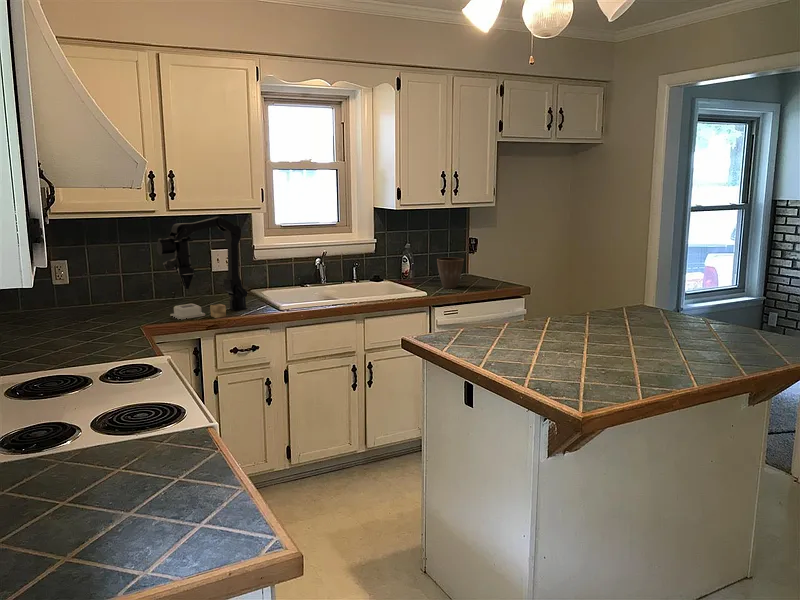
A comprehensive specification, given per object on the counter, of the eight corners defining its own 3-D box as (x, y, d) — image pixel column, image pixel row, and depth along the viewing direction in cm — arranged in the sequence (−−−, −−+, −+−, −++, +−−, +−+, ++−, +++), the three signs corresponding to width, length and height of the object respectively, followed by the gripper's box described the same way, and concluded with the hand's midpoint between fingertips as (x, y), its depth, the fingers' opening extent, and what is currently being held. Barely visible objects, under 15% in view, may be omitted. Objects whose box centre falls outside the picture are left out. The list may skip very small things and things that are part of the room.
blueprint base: (196, 312, 297) (195, 302, 296) (205, 315, 290) (204, 305, 289) (170, 316, 289) (169, 306, 288) (179, 319, 282) (178, 309, 281)
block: (221, 314, 292) (220, 303, 291) (226, 316, 288) (225, 305, 287) (210, 316, 289) (210, 305, 288) (215, 318, 285) (215, 307, 284)
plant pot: (450, 284, 366) (451, 256, 363) (469, 287, 355) (469, 258, 352) (431, 287, 357) (431, 258, 354) (449, 290, 346) (449, 261, 343)
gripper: (161, 251, 285) (164, 285, 288) (165, 256, 269) (168, 292, 272) (187, 249, 290) (190, 283, 293) (192, 254, 273) (196, 290, 276)
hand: (185, 287), depth 283 cm, fingers open, 9 cm apart
